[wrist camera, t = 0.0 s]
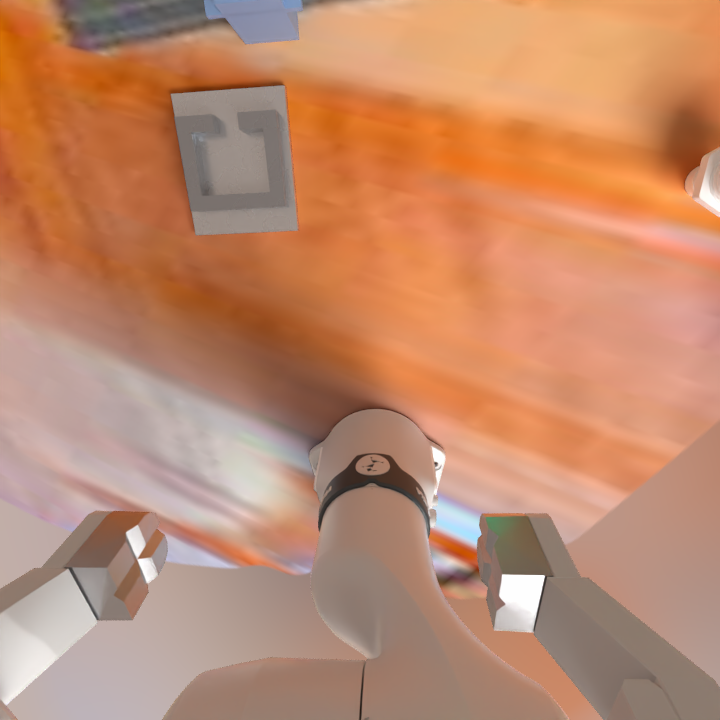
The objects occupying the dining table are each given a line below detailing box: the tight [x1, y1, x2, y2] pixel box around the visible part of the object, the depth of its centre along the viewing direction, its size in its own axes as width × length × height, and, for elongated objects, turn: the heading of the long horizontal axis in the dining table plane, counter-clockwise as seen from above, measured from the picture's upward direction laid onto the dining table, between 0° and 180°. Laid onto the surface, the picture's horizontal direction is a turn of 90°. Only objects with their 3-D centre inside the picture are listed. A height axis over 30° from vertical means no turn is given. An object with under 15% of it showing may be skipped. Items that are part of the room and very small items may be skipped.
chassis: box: [171, 85, 299, 235], centre depth 41 cm, size 14×12×2 cm
